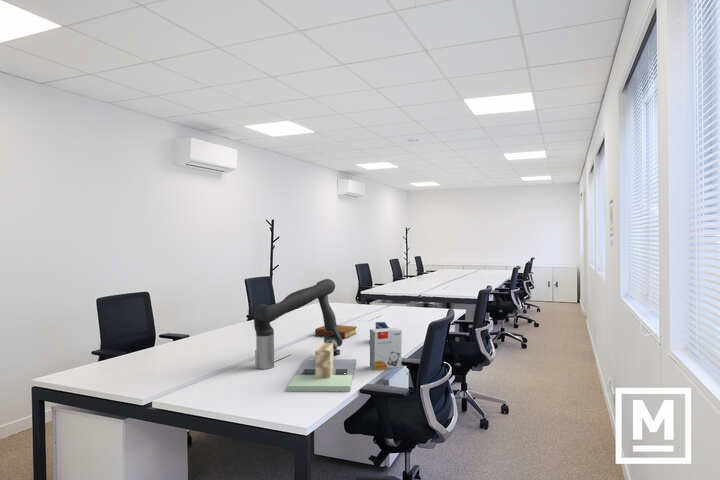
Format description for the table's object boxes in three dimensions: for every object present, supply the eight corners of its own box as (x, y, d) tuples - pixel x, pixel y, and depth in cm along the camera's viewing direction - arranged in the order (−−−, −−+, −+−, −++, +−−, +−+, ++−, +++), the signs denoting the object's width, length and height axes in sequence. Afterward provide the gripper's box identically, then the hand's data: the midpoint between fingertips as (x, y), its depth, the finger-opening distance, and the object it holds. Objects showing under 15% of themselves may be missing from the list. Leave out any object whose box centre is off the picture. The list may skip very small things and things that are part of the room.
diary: (315, 337, 318) (315, 329, 317) (328, 332, 334) (328, 324, 334) (344, 339, 308) (344, 331, 308) (356, 334, 324) (356, 326, 324)
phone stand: (394, 344, 292) (394, 325, 292) (376, 344, 292) (375, 325, 292) (393, 339, 304) (393, 321, 304) (375, 340, 304) (375, 322, 304)
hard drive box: (373, 370, 236) (373, 331, 235) (369, 366, 243) (369, 329, 243) (402, 367, 240) (401, 329, 240) (397, 364, 247) (396, 327, 247)
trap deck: (288, 391, 206) (288, 385, 206) (304, 363, 250) (304, 359, 249) (350, 391, 204) (350, 386, 204) (356, 363, 248) (356, 359, 248)
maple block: (315, 377, 216) (315, 350, 216) (319, 368, 231) (319, 342, 231) (330, 377, 216) (330, 350, 216) (333, 368, 231) (333, 342, 231)
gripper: (317, 341, 249) (313, 349, 232) (342, 341, 248) (339, 349, 231) (317, 355, 249) (313, 364, 232) (342, 355, 248) (339, 363, 231)
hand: (326, 356), depth 231 cm, fingers closed
